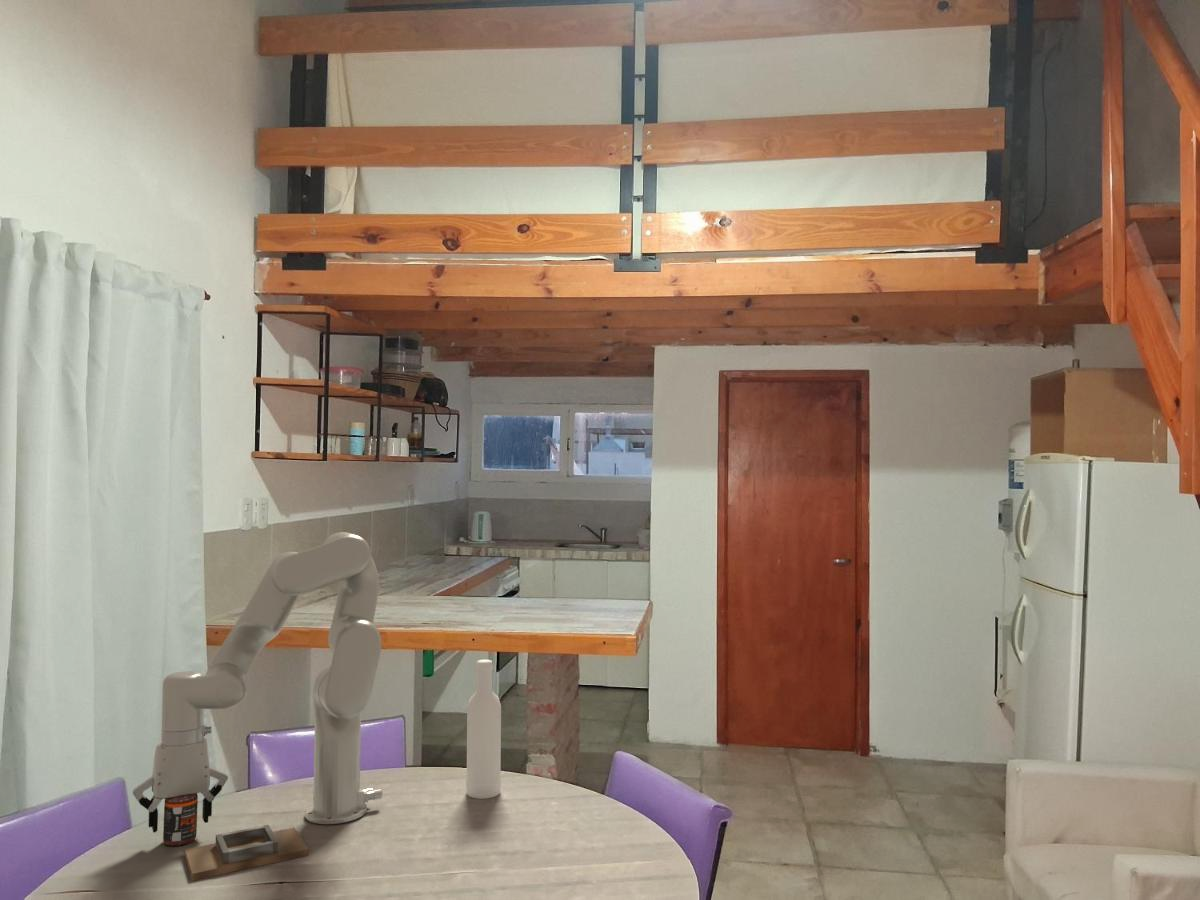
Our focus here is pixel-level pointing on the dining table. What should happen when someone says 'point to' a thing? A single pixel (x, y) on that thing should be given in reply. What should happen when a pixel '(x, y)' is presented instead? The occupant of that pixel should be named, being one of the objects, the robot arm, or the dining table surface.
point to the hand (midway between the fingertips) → (180, 824)
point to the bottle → (483, 737)
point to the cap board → (244, 851)
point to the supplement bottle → (180, 819)
